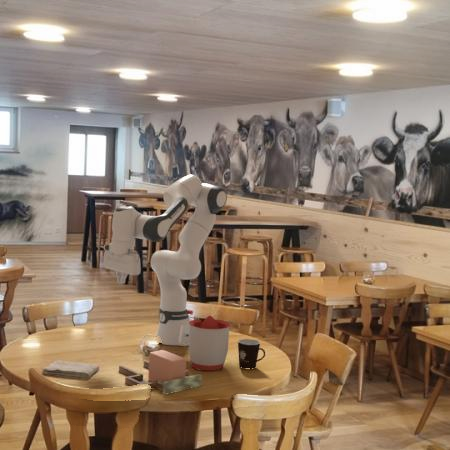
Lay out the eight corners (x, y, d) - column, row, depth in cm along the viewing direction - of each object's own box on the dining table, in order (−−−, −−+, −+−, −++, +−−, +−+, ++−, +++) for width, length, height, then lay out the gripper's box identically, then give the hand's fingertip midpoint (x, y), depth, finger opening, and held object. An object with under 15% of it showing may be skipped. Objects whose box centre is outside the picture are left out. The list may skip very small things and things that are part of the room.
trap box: (157, 363, 261) (158, 353, 261) (208, 384, 241) (209, 373, 240) (105, 373, 245) (106, 363, 245) (155, 397, 224) (156, 385, 224)
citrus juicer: (223, 359, 272) (225, 310, 270) (230, 373, 254) (234, 320, 253) (184, 359, 269) (186, 309, 267) (189, 373, 252) (192, 320, 250)
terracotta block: (161, 376, 246) (162, 349, 245) (184, 386, 236) (186, 358, 236) (148, 379, 242) (149, 352, 241) (171, 390, 232) (172, 361, 231)
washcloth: (53, 366, 253) (53, 357, 252) (100, 370, 250) (100, 362, 250) (40, 375, 241) (40, 367, 241) (89, 380, 238) (89, 372, 238)
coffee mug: (232, 364, 266) (234, 339, 265) (252, 363, 269) (254, 338, 268) (245, 373, 255) (247, 347, 254) (265, 372, 258) (267, 346, 258)
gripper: (145, 251, 259) (143, 287, 260) (114, 244, 273) (113, 278, 275) (131, 251, 254) (130, 288, 256) (101, 245, 269) (99, 279, 270)
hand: (121, 283), depth 265 cm, fingers closed
